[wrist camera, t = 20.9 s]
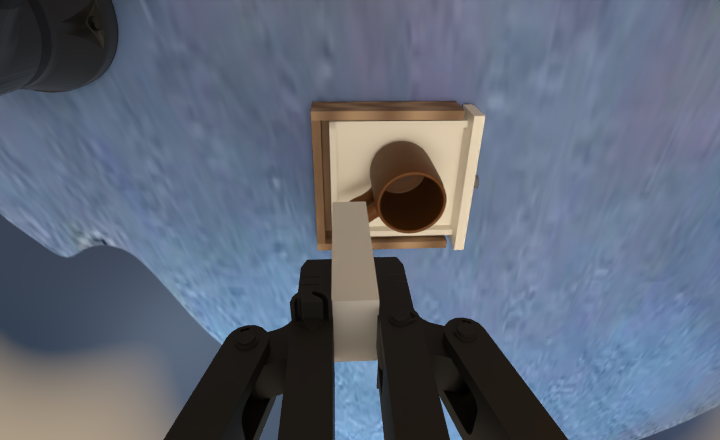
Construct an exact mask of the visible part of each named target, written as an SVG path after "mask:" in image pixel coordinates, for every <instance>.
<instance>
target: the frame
mask: <svg viewBox="0 0 720 440" xmlns="http://www.w3.org/2000/svg"><path fill="white" fill-rule="evenodd" d="M464 113H465V110H464V109H463V108H462V107H461V106H460V105H459V104H458V103H457V102H456V101H404V102H312V107H311V128H312V147H313V167H314V186H315V206H316V225H317V244H318V250H332V206H331V171H330V137H329V121H331V120H464ZM371 243H372V249H403V248H446V243H447V241H446V238H445V236H444V235H420V236H372V237H371Z"/></svg>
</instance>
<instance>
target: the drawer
mask: <svg viewBox="0 0 720 440" xmlns="http://www.w3.org/2000/svg"><path fill="white" fill-rule="evenodd" d="M463 109H464V110H465V113H464V120H331V121H329V137H330V171H331V206H332V202H349V201H350V200H352V199H354V198H356V197H358V196H360V195H362V194H364V193H365V192H367V191H368V190H369V189H370V188H371V179H370V166H371V163H372V160H373V158H374V156H375V155H376V153H377V152H378V151H379V150H380V149H381V148H383V147H384V146H386V145H387V144H390V143H392V142H396V141H408V142H412V143H415V144H417V145H418V146H420V147H421V148H422V149H424V151H425V152H426V153H427V154H428V156H429V158H430V159H431V161H432V163H433V165H434V167H435V168H436V170H437V172H438V174H439V176H440V178H441V180H442V183H443V185H444V189H445V192H446V197H447V203H446V207H445V210H444V212H443V214H442V216H441V218H440V219H439V220H438V221H437V222H436V223H435V224H434V225H433V226H431V227H430V228H428V229H426V230H424V231H421V232H418V233H410V234H408V233H400V232H397V231H394V230H392V229H390V228H389V227H387V226H386V225H385V224H384V223H383V222H382V220H381V219H380V217H378V218H376V219H374V220H373V221H371V222H370V223H369V228H370V235H371V237H372V236H420V235H448V237H449V239H450V241H451V244H452V246H453V248H454V250H463V248H464V242H465V236H466V230H467V224H468V218H469V212H470V206H471V200H472V194H473V188H477V187H478V185H479V178H478V176H477V175H476V170H477V164H478V158H479V152H480V146H481V139H482V133H483V127H484V121H485V115H484V114H483V113H482V112H481V111H480V110H478V109H477V108H476V107H475V106H474V105H473V104H463Z"/></svg>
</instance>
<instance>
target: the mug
mask: <svg viewBox="0 0 720 440" xmlns="http://www.w3.org/2000/svg"><path fill="white" fill-rule="evenodd" d="M370 179H371V188H370V189H369V190H368V191H367V192H365V193H364V194H362V195H360V196H358V197H356V198H354V199H352V200H350V201H349V202H366V206H367V214H368V221H369V223H370V222H371V221H373V220H374V219H376V218H378V217H380V219H381V220H382V222H383V223H384V224H385V225H386V226H387V227H389V228H390V229H392V230H394V231H397V232H400V233H408V234H410V233H418V232H421V231H424V230H426V229H428V228H430V227H431V226H433V225H434V224H435V223H436V222H437V221H438V220H439V219H440V218H441V216H442V214H443V212H444V210H445V207H446V203H447V197H446V192H445V189H444V185H443V183H442V180H441V178H440V176H439V174H438V172H437V170H436V168H435V167H434V165H433V163H432V161H431V159H430V158H429V156H428V154H427V153H426V152H425V151H424V149H422V148H421V147H420V146H418V145H417V144H415V143H412V142H408V141H396V142H392V143H390V144H387V145H386V146H384V147H383V148H381V149H380V150H379V151H378V152H377V153H376V155H375V156H374V158H373V160H372V163H371V166H370Z"/></svg>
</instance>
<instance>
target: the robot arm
mask: <svg viewBox="0 0 720 440" xmlns="http://www.w3.org/2000/svg"><path fill="white" fill-rule="evenodd" d="M117 40H118V28H117V20H116V15H115V11H114V8H113V5H112V2H111V0H0V96H1V95H3V94H6V93H9V92H12V91H14V90H17V89H28V90H34V91H41V92H65V91H70V90H74V89H77V88H79V87H82V86H84V85H86V84H89V83H91V82H93V81H94V80H96V79H97V78H99V77H100V76H101V75H102V74H103V73H104V72H105V71H106V70H107V68H108V67H109V65H110V64H111V62H112V60H113V58H114V55H115V52H116V48H117ZM290 309H291V319H292V321H291V322H290V323H289V324H287V325H286V326H284V327H282V328H280V329H277V330H274V331H270V332H267V331H266V330H264V329H263V328H262V327H259V326H256V325H247V326H243V327H240V328H238V329H236V330H234V331H233V332H231V333H230V335H229V336H228V337H227V338H226V340H225V341H224V343H223V344H222V346H221V348H220V349H219V351H218V353H217V354H216V356H215V357H214V359H213V361H212V362H211V364H210V365H209V367H208V369H207V370H206V372H205V374H204V375H203V377H202V378H201V380H200V382H199V383H198V385H197V387H196V388H195V390H194V391H193V393H192V395H191V396H190V398H189V399H188V401H187V403H186V404H185V406H184V407H183V409H182V411H181V412H180V414H179V415H178V417H177V419H176V420H175V422H174V424H173V425H172V427H171V428H170V430H169V432H168V433H167V435H166V437H165V438H164V440H259V438H260V436H261V433H262V431H263V428H264V426H265V424H266V421H267V419H268V416H269V414H270V411H271V409H272V407H273V404H274V402H275V399H276V396H277V395H280V394H283V400H282V408H281V417H280V426H279V433H278V440H335V372H334V362H343V361H371V360H377V359H378V373H377V389H379V393H380V403H381V412H382V422H383V432H384V440H450V438H449V434H448V430H447V425H446V421H445V417H444V413H443V409H442V405H441V401H440V398H441V400H442V402H443V403H444V405H445V407H446V409H447V411H448V413H449V415H450V417H451V419H452V420H453V422H454V424H455V426H456V428H457V430H458V432H459V434H460V436H461V437H462V439H463V440H568V439H567V437H566V436H565V435H564V433H563V432H562V431H561V429H560V428H559V427H558V425H557V424H556V423H555V421H554V420H553V419H552V417H551V416H550V415H549V413H548V412H547V411H546V410H545V408H544V407H543V406H542V404H541V403H540V402H539V400H538V399H537V398H536V396H535V395H534V394H533V392H532V391H531V390H530V388H529V387H528V386H527V384H526V383H525V382H524V380H523V379H522V378H521V377H520V375H519V374H518V373H517V371H516V370H515V369H514V367H513V366H512V365H511V363H510V362H509V361H508V359H507V358H506V357H505V355H504V354H503V353H502V351H501V350H500V349H499V347H498V346H497V345H496V343H495V342H494V341H493V340H492V338H491V337H490V336H489V334H488V333H487V332H486V330H485V329H484V328H483V327H482V326H481V325H480V324H479V323H477V322H475V321H473V320H471V319H467V318H454V319H452V320H450V321H448V323H447V324H446V325H445V326H442V325H438V324H433V323H430V322H427V321H425V320H423V319H422V318H421V317H419V315H418V313H417V312H416V311H415V310H414V308H413V304H412V299H411V295H410V291H409V287H408V283H407V278H406V275H405V270H404V266H403V264H402V263H401V262H400V261H399V259H398V258H397V257H373V250H372V243H371V235H370V228H369V221H368V214H367V206H366V202H332V259H323V260H307V261H306V262H305V263H304V265H303V266H302V267H301V272H300V280H299V289H298V293H296V294H295V295H294V296H293V297H292V299H291V301H290ZM439 396H440V397H439Z"/></svg>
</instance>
